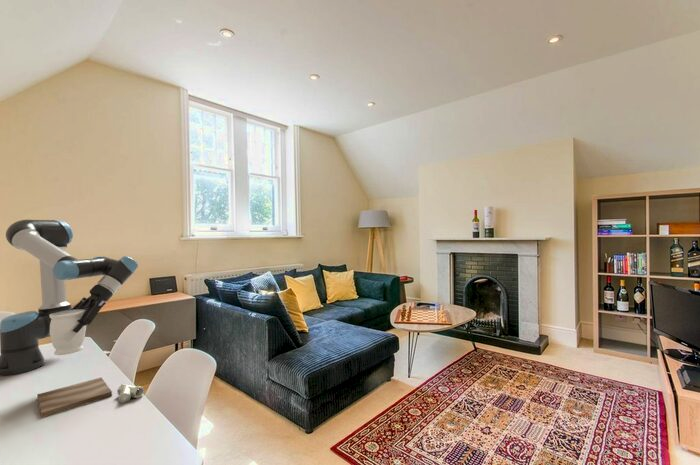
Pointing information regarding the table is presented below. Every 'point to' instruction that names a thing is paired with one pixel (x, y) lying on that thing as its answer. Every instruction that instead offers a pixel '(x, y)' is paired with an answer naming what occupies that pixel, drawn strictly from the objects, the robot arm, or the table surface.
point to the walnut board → (72, 396)
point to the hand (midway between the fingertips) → (58, 338)
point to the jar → (61, 326)
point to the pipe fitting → (129, 392)
